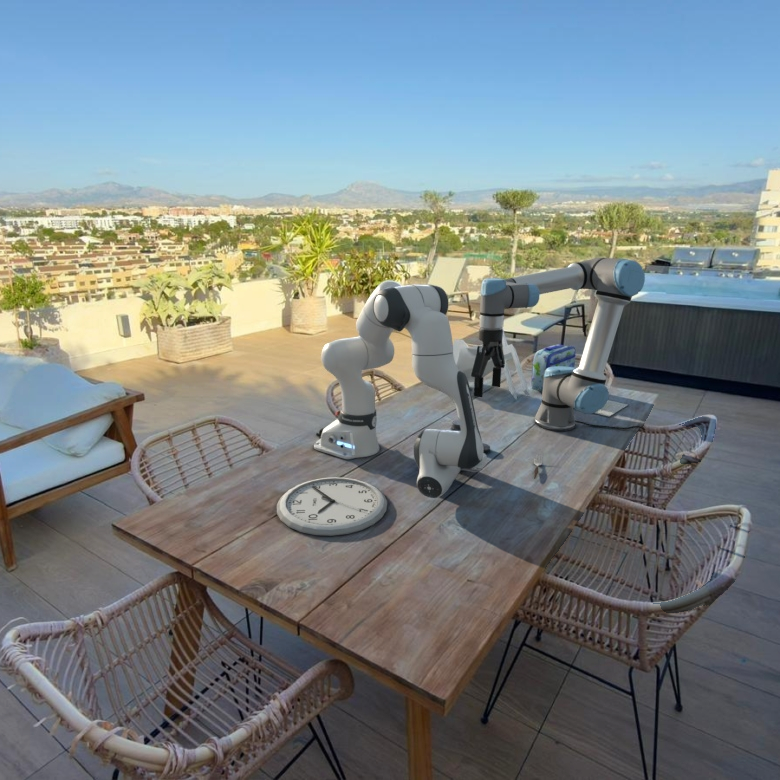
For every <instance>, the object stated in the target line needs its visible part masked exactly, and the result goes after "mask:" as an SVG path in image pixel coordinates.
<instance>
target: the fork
mask: <svg viewBox="0 0 780 780" xmlns="http://www.w3.org/2000/svg"><path fill="white" fill-rule="evenodd" d="M537 456H539V457H537ZM543 460H544V455H542V454H540V455H539V454H537V455H535V458H534V461H533V464H534V465H535V466H536V467H535V468H534V470H533V471H534V472H533V474H534V475H533V477H534V478H533V479H534V480H536V478H537V475H538V473H539V466H542V465H543Z"/></svg>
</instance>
